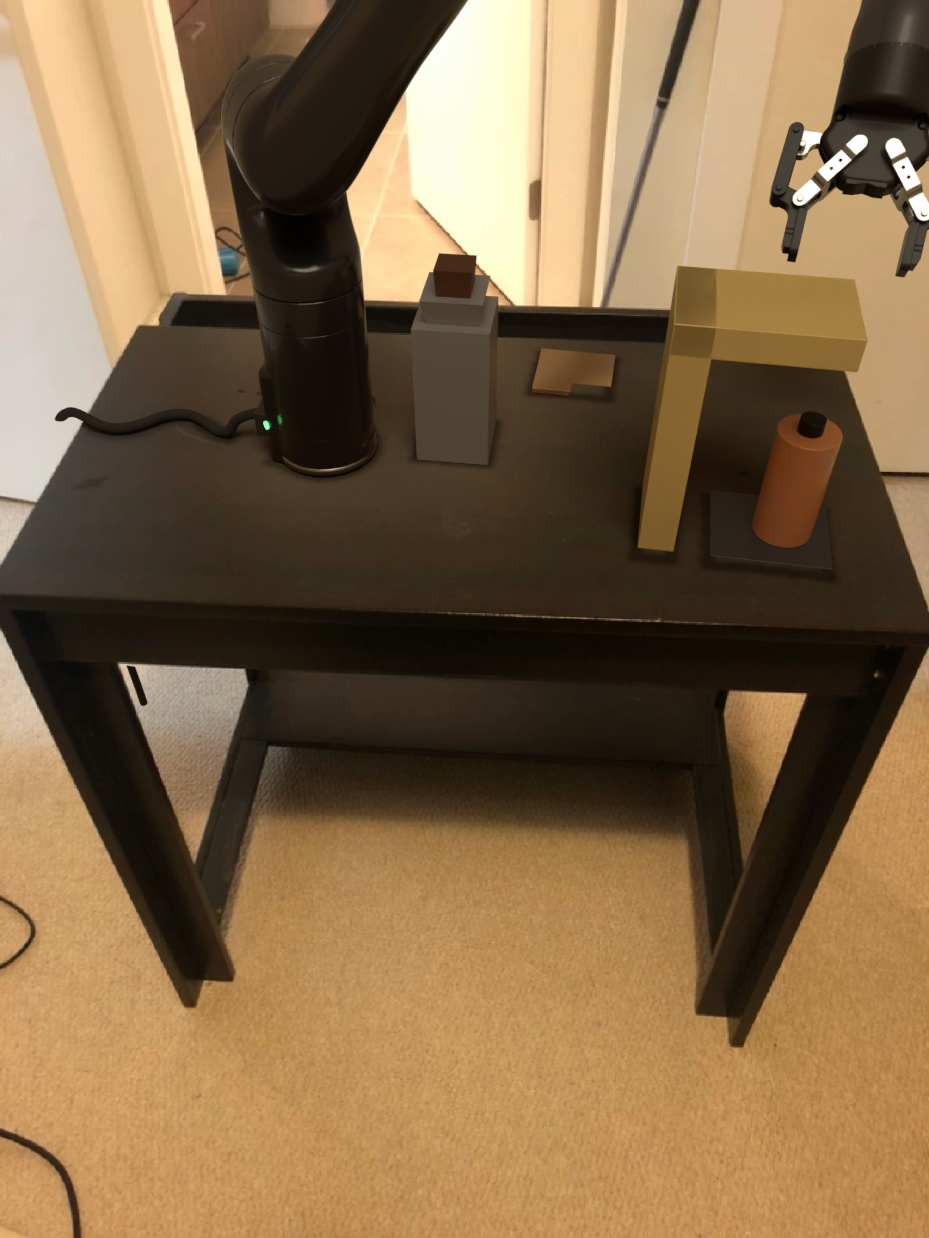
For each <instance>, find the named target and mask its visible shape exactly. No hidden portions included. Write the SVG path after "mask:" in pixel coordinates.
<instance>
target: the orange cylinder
mask: <svg viewBox="0 0 929 1238" xmlns="http://www.w3.org/2000/svg"><path fill="white" fill-rule="evenodd" d="M773 437H774V438H773V442H772V445H771V449H770V453H769V457H768V460H767V464H766V468H765V472H764V474H763V479H762V481H761V482H762V483H761V486H760V491H759V494H758V495H759V498H758V501H757V505H756V509H755V513H754V516H753V520H752V529H753V531H754V533H755V534H756V536H757V537H758V538H760V539H761V540H762V541H764V542H766V543H768V544H770V545H773V546H777V547H782V548H793V547H798V546H801V545H803V544H805V543H806V542H807V541H808V540H809V539H810V537H811V535H812V532H813V528H814V525H815V522H816V519H817V516H818V513H819V510H820V507H821V504H822V502H824V497H825V495H826V491H827V488H828V486H829V482H830V480H831V476H832V473H833V470H834V467H835V464H836V460H837V457H838V454H839V452H840V448H841V445H842V442H843V439H844V437H843V432H842V430H841V428H840V427H839V426H838V424H836V423H834V422H833V421H831V419H830V420H829V419H828V418H827V416H825V415H824V414H822V413H821V412H818V411H812V410H811V411H809V410H808V411H804V412H802V413H796V414H790V415H788V416H786V417H783V418H782V419H781V420H780V421H779V422H778V423H777V427H776V430H775V434H774V436H773Z"/></svg>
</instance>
